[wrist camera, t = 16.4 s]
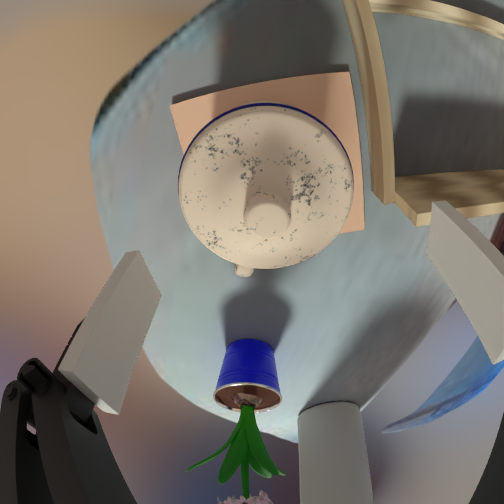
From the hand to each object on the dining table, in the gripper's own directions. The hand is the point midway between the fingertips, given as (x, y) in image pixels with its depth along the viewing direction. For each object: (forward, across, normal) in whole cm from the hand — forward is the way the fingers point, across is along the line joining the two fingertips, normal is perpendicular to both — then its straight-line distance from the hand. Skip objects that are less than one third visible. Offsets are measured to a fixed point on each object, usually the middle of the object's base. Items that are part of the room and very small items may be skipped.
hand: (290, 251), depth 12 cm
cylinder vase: (+13, -3, +48) cm, 50 cm away
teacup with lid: (+12, +1, 0) cm, 12 cm away
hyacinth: (+13, +8, +23) cm, 28 cm away
